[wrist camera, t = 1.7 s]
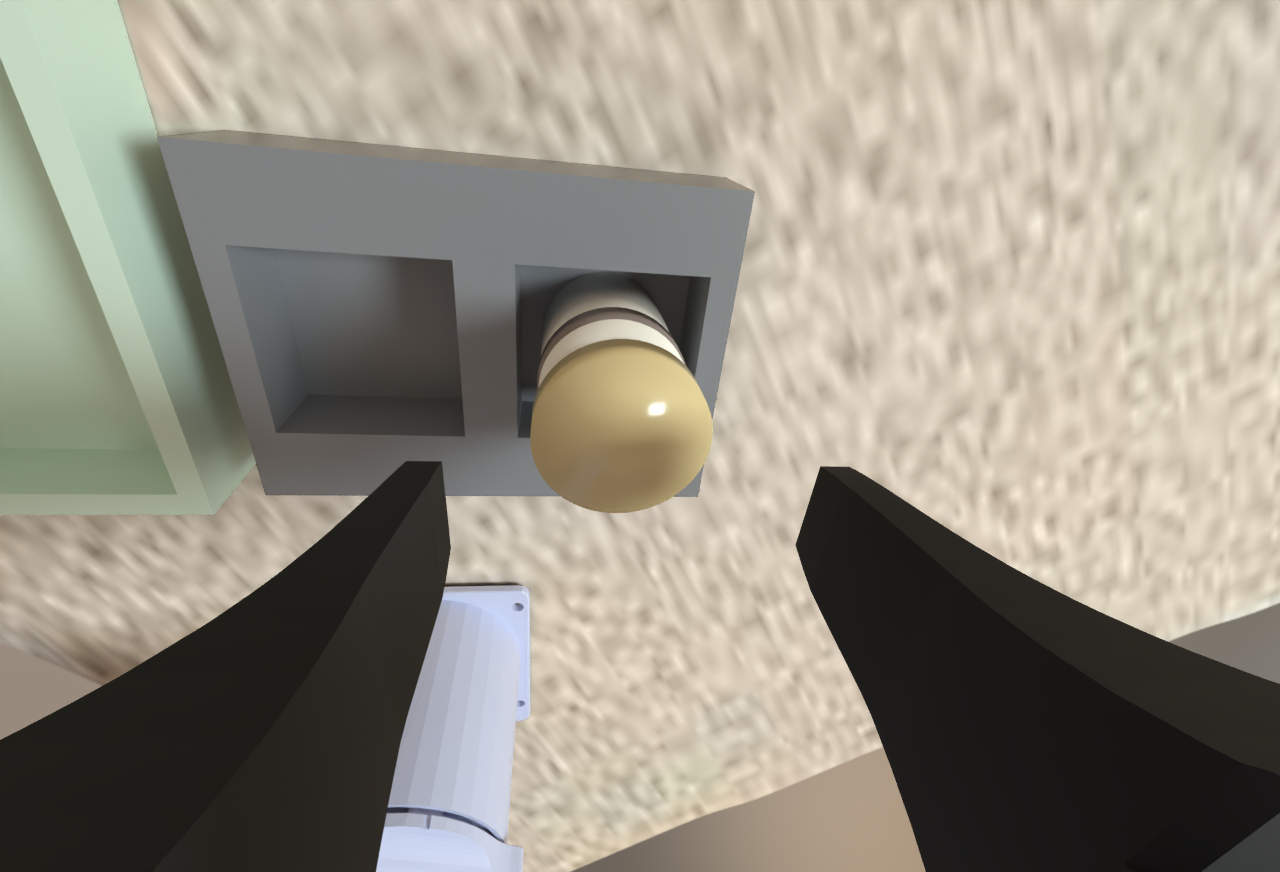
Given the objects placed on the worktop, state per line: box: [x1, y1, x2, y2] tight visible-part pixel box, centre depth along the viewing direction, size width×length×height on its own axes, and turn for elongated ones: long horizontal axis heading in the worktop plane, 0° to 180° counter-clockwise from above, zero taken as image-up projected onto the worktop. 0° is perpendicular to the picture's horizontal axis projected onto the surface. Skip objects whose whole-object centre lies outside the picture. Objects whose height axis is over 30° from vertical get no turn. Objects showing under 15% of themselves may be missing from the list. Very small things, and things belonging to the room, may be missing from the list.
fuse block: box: [157, 130, 755, 497], centre depth 17 cm, size 10×14×3 cm
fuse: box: [530, 272, 713, 513], centre depth 16 cm, size 4×4×7 cm
